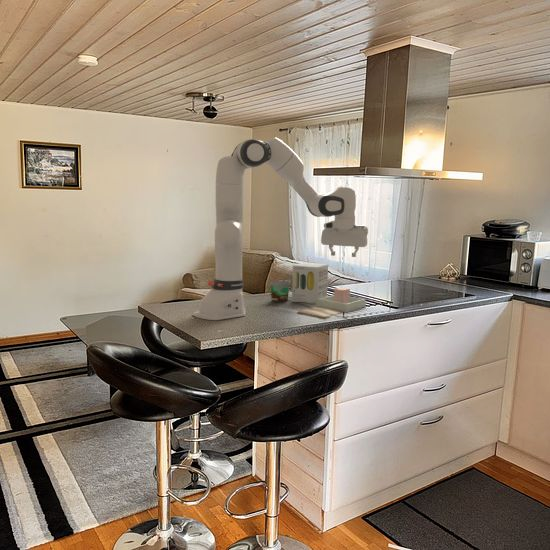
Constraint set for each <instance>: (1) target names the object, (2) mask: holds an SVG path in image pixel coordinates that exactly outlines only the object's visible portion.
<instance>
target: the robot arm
mask: <svg viewBox="0 0 550 550" xmlns="http://www.w3.org/2000/svg"><path fill="white" fill-rule="evenodd" d="M263 164H266V165H269V166H270V168H271V169H272V170H273V171H274V172H275V173H276V174H277V175H278V176H279V177H280V178H282V179H283V180H284V182H287V183H288V184H289V185H290V186H291V187H292V188H293V189H294V190H295V192H296V193H297V194H298V195H299V196H300V197H301V198H302V199H303V201H304V203H305V205H306V207H307V210H308V212H309V213H310V214H311V215H312V216H314V217H318V218H319V217H323V218H331V217H333V216H334V220H331V221H328V222H325V223H324V224H323V228H324V229H323V230H322V232H321V237H320V238H321V239H320V243H321V245H323V246H328V249H329V252H330V256H336V251H334V249H333V248H334V246H339V247H353V248H354V252H352V253H351V257H352V258H356V257H357V253H358V251H359V250H360V248H365V247H367V246H368V233H369V228H368V227H367V226H365V225H364V224H362V225H360V224H359V225H358V224H356V214H355V212H356V207H357V202H356V201H357V200H356V199H357V196H356V192H355V190H354V189H353V188H351V187H349V186H348V187H347V186H338V187H336V189H334V190H332V191H330V192H327V193H319V192H317V191H316V190H315V189H314V188H313V186H312V185H311V184H310V183H309V182H308V181H307V180H306V178H305V176H304V170H305V167H304V163H303V161H302V160H301V158H300V156H298V155H297V153H295V151H293V149H292V148H291V147H290V146H288V144H286V143H285V142H284V141H283V140H281V139H279V138H278V137H271V138H269V139H267V140H266V141H263V140H259V139H255V138H250V139H246V140H244V141H242V142H240V143H238V144H237V145H236V146H235V147H234V149H233V152H232V153H231V155H229V156H228V155H227V156H223V157H221V158H220V159H219V160H218V163H217V168H216V173H215V174H216V175H215V220H216V222H215V223H216V224H215V226H216V227H215V229H214V252H215V253H214V255H215V257H214V258H215V278H214V280H213V281H211V280H208V281H207V283H206V284H207V286H208V287H210V286H211V289H210V290H209V291H208V292H207V293H206V294H205V295H204V296H203V298H201V300H199V306H198V310H197V311H194V312H193V314H192V315H193V316H194V317H195V318H198V319H203V320H206V321H207V320H208V321H221V320H225V319H232V318H238V317H246V312H247V311H246V307H245V302H244V294H243V289H244V279H243V235H244V234H243V231H244V227H243V225H244V223H243V222H244V218H243V217H244V215H243V214H244V209H243V208H244V174H245V171H246V170H247V169H254V168H257V167H260V166H262V165H263Z"/></svg>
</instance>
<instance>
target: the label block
mask: <svg viewBox="0 0 550 550" xmlns="http://www.w3.org/2000/svg"><path fill="white" fill-rule="evenodd" d="M350 293H351V288H348V287H341V286H339V287H336V288H334V289H333V295H334V302H340V303H345V304H347V303H349V300H350V297H351V294H350Z"/></svg>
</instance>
